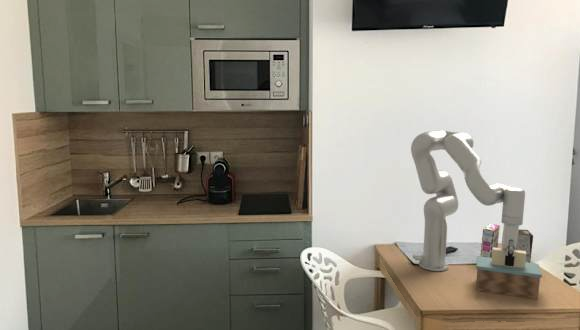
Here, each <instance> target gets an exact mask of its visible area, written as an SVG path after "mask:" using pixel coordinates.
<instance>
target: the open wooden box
mask: <svg viewBox="0 0 580 330" xmlns="http://www.w3.org/2000/svg"><path fill="white" fill-rule="evenodd" d="M540 280H541V278H540V277H532V276H525V275H517V274H510V273H502V272H495V271H487V270H480V269H477V268H476V281H475V282H476V284H475V291H477V292H485V293H492V294H498V295H499V294H500V295H505V296H510V297H511V296H512V297H518V298H526V299H531V300H532V299H533V300H539V293H540V292H539V291H540V283H541V281H540Z"/></svg>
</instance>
